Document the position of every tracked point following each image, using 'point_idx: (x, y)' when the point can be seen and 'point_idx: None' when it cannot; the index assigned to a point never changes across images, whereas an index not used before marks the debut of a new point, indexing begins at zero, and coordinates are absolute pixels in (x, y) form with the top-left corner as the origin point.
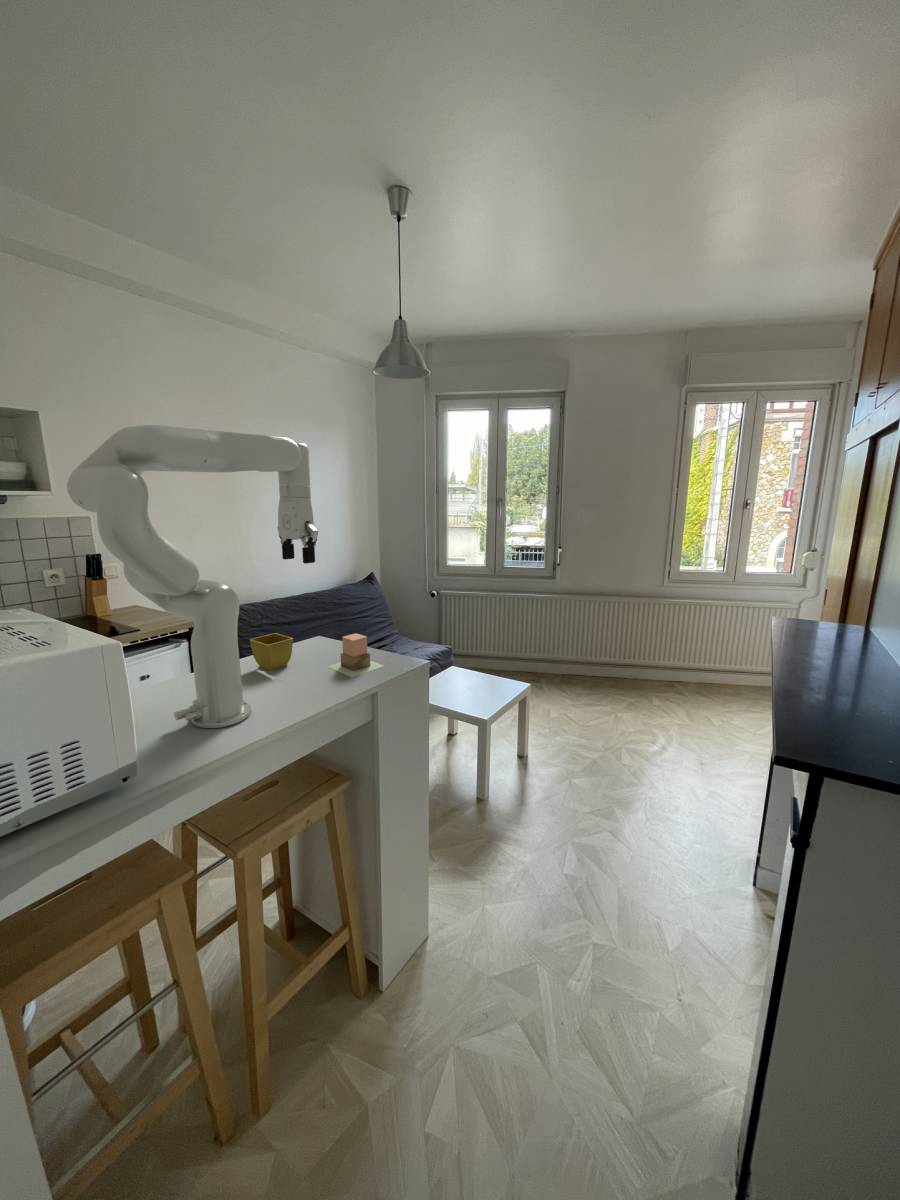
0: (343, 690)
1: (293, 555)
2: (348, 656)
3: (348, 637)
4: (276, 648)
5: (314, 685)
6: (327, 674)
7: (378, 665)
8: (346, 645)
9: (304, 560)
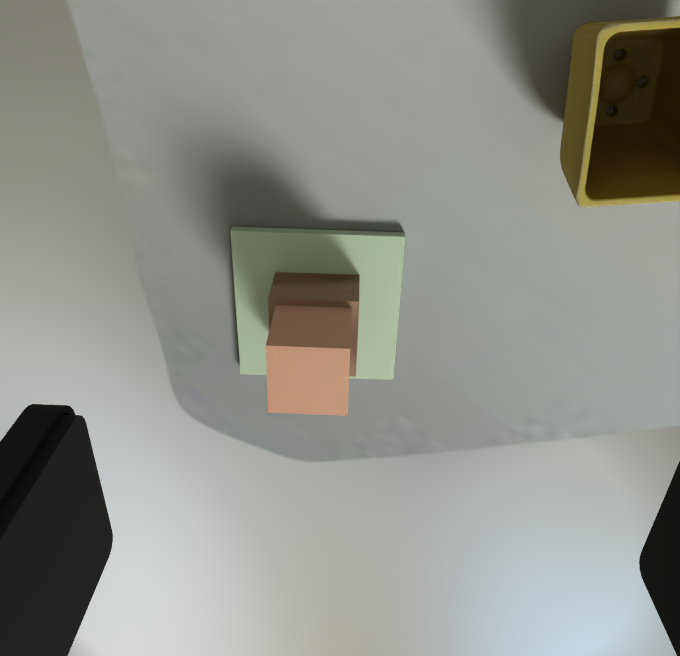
0: (162, 138)
1: (656, 593)
2: (301, 298)
3: (320, 360)
4: (583, 86)
5: (289, 88)
6: (352, 199)
7: (260, 363)
8: (321, 328)
9: (13, 436)
